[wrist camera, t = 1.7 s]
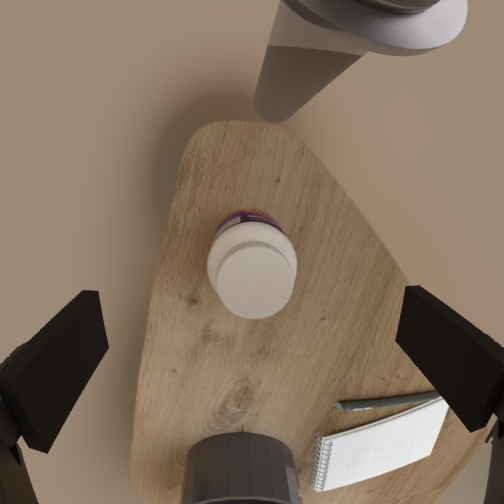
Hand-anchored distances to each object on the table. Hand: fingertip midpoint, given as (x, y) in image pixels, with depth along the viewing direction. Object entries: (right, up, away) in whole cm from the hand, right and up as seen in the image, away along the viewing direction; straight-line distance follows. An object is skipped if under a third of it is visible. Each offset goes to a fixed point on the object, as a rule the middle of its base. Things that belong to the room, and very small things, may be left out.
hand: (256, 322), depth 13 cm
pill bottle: (0, +4, +13) cm, 14 cm away
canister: (-2, -23, +20) cm, 31 cm away
